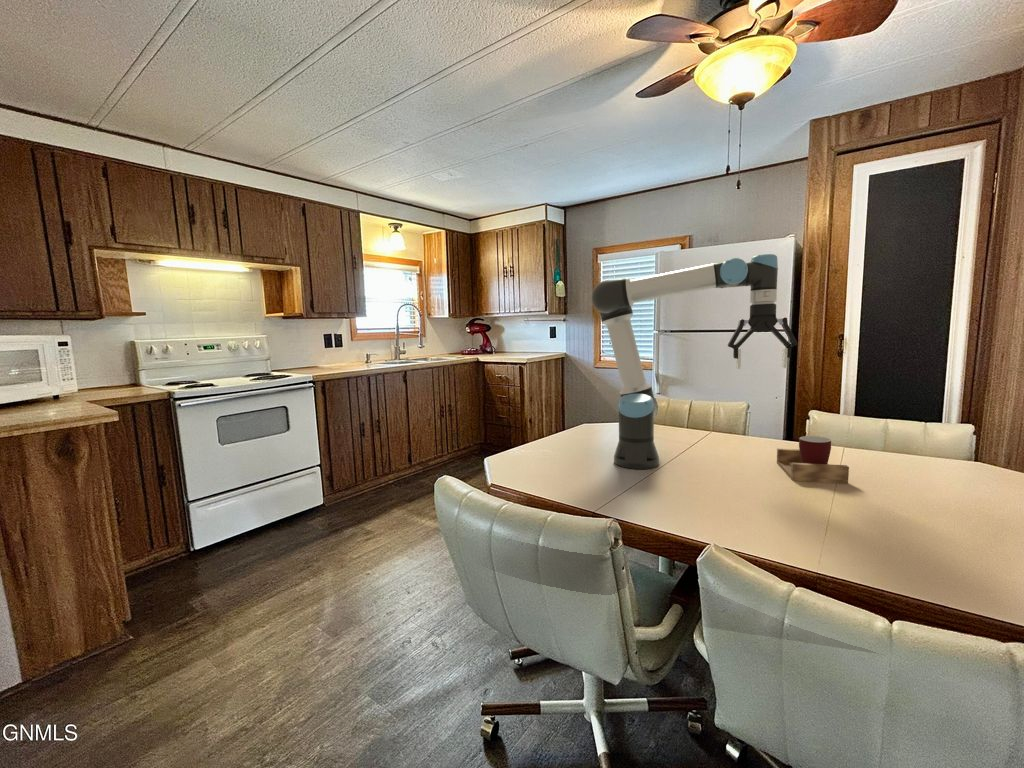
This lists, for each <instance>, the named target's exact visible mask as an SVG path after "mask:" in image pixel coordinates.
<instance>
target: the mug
mask: <svg viewBox="0 0 1024 768" xmlns="http://www.w3.org/2000/svg"><path fill="white" fill-rule="evenodd" d="M798 449H800V455H801V460H802V463H809V464H829V459H830V454H831V450H832V440H831V439H830V438H827V437H824V436H817V435H806V436H805V435H804V436H803V435H802V436H800V437H799V438H798Z"/></svg>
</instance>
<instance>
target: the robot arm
mask: <svg viewBox="0 0 1024 768" xmlns="http://www.w3.org/2000/svg"><path fill="white" fill-rule="evenodd" d="M778 265H779V264H778V256H777V255H776V254H772V253H769V254H768V253H766V254H757V255H754V256H752V257H751V260H750V262H746V261H744V259H741V258H739V257H738V258H737V257H733V258H728V259H726V260H724V261H719V262H715V263H710V264H704V265H699V266H694V267H690V268H685V269H683V268H682V269H679V270H674V271H669V272H665V273H660V274H655V275H654V274H653V275H649V276H644V277H640V278H635V279H631V278H629V277H624V278H620V279H618V278H617V279H610V280H609V279H608V280H603V281H601V282H599V283H597V285H596V286H595V287H594V288H593V290H592V293H591V303H592V306H593V307H594V308H595V310H596V311H598V314H599V317H600V320H601V324H603V325H605V326H606V328H607V332H608V335H609V338H610V342H611V347H612V351H613V353H614V358H615V363H616V366H617V370H618V374H619V375H618V376H619V378H620V383H621V385H622V388H621V390H620V392H619V396H620V398H619V400H618V405H617V409H618V442H617V446H616V449H615V452H614V455H613V462H614V464H615V465H616V464H617V465H616V466H618V465H619V466H618V467H621V468H626V469H629V470H630V469H631V470H648V469H653V468H654V469H655V468H656V467H658V466H659V465H660V456H659V454H658V450H657V447H656V445H655V441H654V438H655V436H654V435H655V434H654V432H655V431H654V430H655V426H654V425H655V424H654V423H655V418H656V416H657V414H658V408H659V404H658V401H657V399H656V398H655V396H654V391H653V388H652V385H651V384H649V383H647V381H646V378H645V377H646V376H645V374H644V370H643V366H642V362H641V358H640V353H639V350H638V346H637V342H636V338H635V334H634V330H633V326H632V322H631V318H632V317H633V315H634V312H633V308H632V306H633V305H634V304H636V303H640V302H645V301H652V300H656V299H657V300H658V299H662V298H667V297H671V296H677V295H678V296H679V295H683V294H689V293H693V292H697V291H698V292H699V291H704V290H709V289H725V288H738V287H749V288H750V295H749V303H750V304H751V305H749V318H748V319H744V318H742V319H739V320H738V325H737V327H736V329H735V331H734V333H733V334H732V336H731V338H730V339H729V342H728V344H727V347H729V348H732V349H733V353H732V354H733V355H732V356H733V359H735V360H736V369H739V370H740V369H741V361H742V359H741V358H742V349H741V348H740V347H741V346H742V345H743V344H744V343H745V342H746V341H747V339H748V338H749V337H751V335H753V333H754V332H755V333H769V332H770V333H772V334H773V335H774V336H775V338H777V340H779V342H781V344H782V345H783V346H784V347H782V352H781V355H782V356H781V368H782V369H787V368H788V358H789V359H790V358H791V356H792V355H791V354H792V348H793V347H797V346H798V345H799V343H798V341H797V339H796V337H795V335H794V334H793V331H792V329H791V328H790V326H789V325H788V324H789V323H788V317H781V318H777V304H776V302H777V292H778V286H777V285H778V273H779V271H778V269H779V267H778ZM777 323H778V324H779V325H781V327H782V329H783V331H784V333H785V334H786V338H785V336H783V335H782V334H781V333H780V332H779V330H778V329H777V328H776V327H775V326H776V324H777ZM746 325H749V327H750V328H749V329H748V330H747V331H746V332H745V334H743V336H741V338H739V340H738V341H737V342H736V340H737V339H738V337H739V336H740V334H741V332H742V330H743V329H744V327H745V326H746ZM787 338H788V340H789V341H788V340H787Z"/></svg>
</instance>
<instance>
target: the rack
mask: <svg viewBox="0 0 1024 768" xmlns="http://www.w3.org/2000/svg"><path fill="white" fill-rule="evenodd" d="M776 464H777V465H778V467H779V468H780V469H781V470H782V471H783V472H784V473H785V474H786V475H787V477H789V479H790V480H792V482H793V481H795V482H796V481H797V482H798V481H799V482H813V483H814V482H815V483H827V484H829V483H831V484H849V474H850V473H849V472H850V466H848V465H847V464H829V463H828V464H809V463H802V460H801V455H800V449H799V448H798V449H797V448H776Z"/></svg>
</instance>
